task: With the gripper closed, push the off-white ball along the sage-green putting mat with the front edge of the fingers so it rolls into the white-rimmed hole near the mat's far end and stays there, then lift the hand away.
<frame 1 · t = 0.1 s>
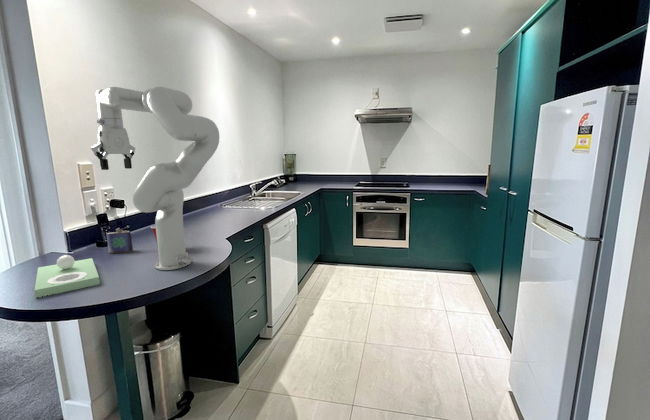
hand: (117, 169, 127), 37 cm above the table, tool pointing down, fingers open, 9 cm apart
ball: (65, 262, 115), point 5 cm above the table, touching putting mat
putting mat: (68, 278, 113), on the table
flask: (121, 252, 144), on the table
plastic cup: (166, 250, 145), on the table
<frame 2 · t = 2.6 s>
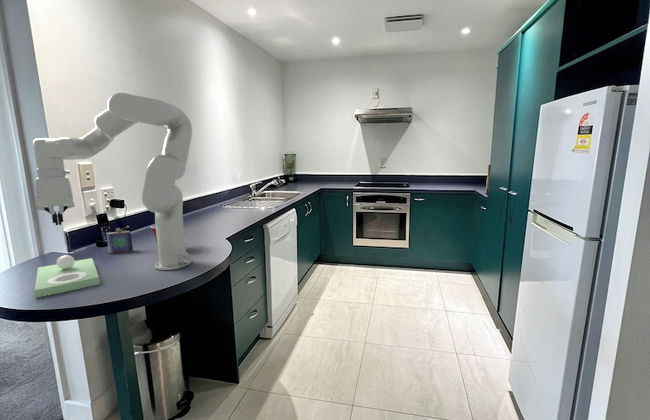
hand: (58, 224, 118), 17 cm above the table, tool pointing down, fingers closed
nothing on the table moved.
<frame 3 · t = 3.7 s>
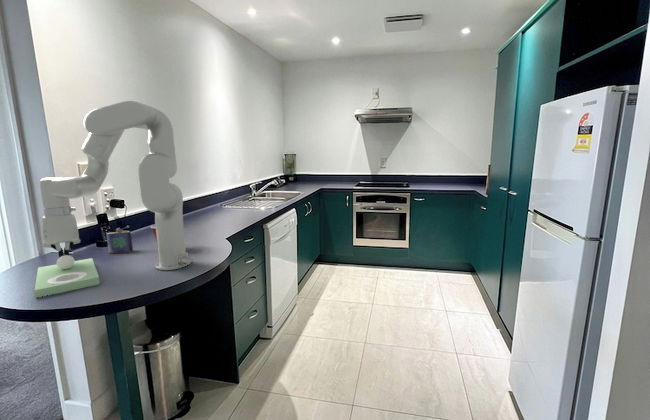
hand: (64, 260, 121), 4 cm above the table, tool pointing down, fingers closed
nothing on the table moved.
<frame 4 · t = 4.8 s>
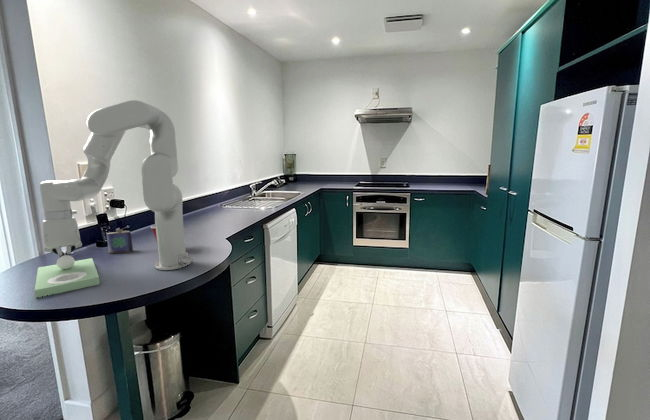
hand: (66, 264, 118), 3 cm above the table, tool pointing down, fingers closed
ball: (65, 262, 115), point 5 cm above the table, touching gripper, putting mat
everything else where it was.
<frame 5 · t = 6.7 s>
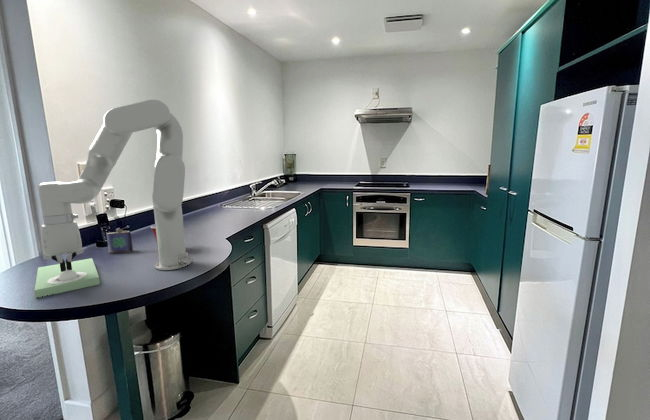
hand: (66, 272, 110), 3 cm above the table, tool pointing down, fingers closed
ball: (68, 277, 107), point 2 cm above the table, tilted 108°, touching gripper
everything else where it was.
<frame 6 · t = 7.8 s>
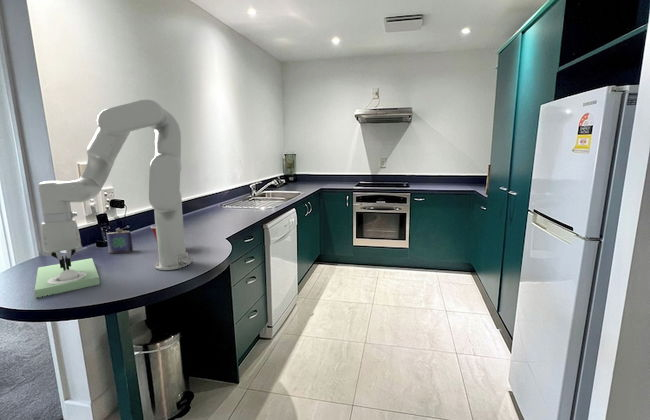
hand: (66, 269, 113), 3 cm above the table, tool pointing down, fingers closed
ball: (68, 277, 107), point 2 cm above the table, tilted 114°
everything else where it was.
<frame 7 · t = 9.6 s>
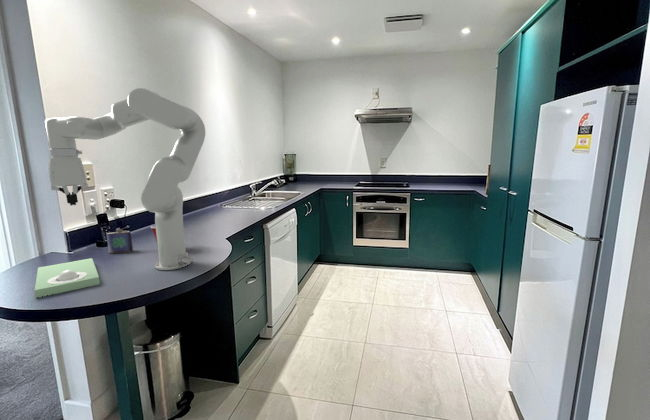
hand: (73, 204, 119), 24 cm above the table, tool pointing down, fingers closed
ball: (68, 277, 107), point 2 cm above the table, tilted 108°
everything else where it was.
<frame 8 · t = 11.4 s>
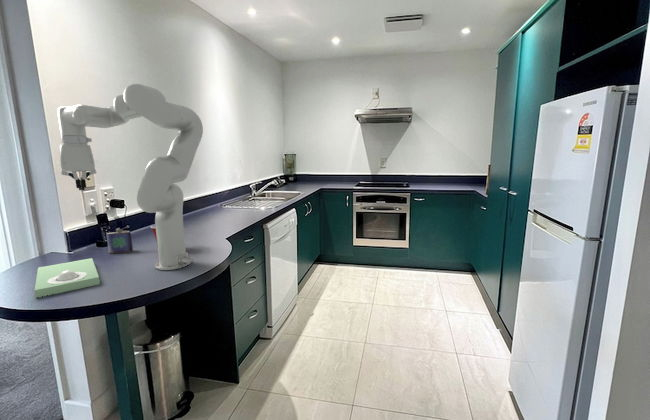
hand: (81, 189, 125), 29 cm above the table, tool pointing down, fingers closed
ball: (67, 277, 107), point 2 cm above the table, tilted 102°
everything else where it was.
at the end: ball 0.1 cm from the target spot, point 2.5 cm above the table; the gripper is holding nothing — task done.
